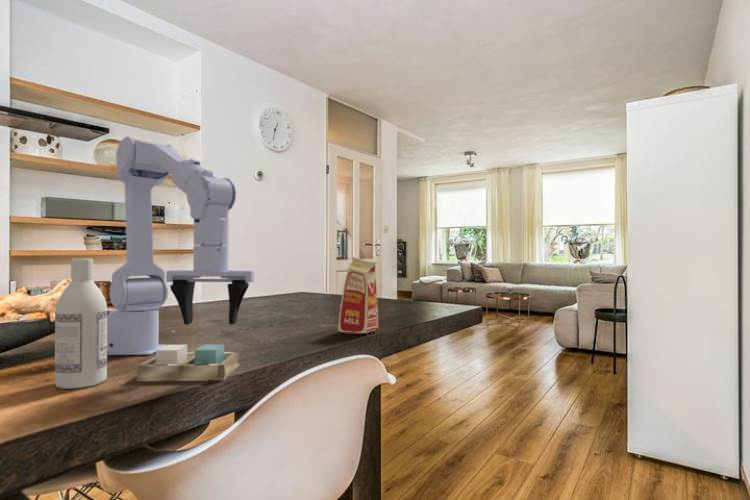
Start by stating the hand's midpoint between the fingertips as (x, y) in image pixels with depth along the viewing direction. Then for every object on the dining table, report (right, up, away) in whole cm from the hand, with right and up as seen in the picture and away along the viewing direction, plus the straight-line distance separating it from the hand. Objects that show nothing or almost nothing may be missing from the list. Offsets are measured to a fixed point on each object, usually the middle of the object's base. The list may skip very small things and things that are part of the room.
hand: (210, 323), depth 77 cm
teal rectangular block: (0, -8, 0) cm, 8 cm away
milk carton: (+25, -9, +40) cm, 48 cm away
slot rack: (-3, -9, 0) cm, 9 cm away
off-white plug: (-6, -8, 0) cm, 10 cm away
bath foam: (-18, -9, -6) cm, 21 cm away
